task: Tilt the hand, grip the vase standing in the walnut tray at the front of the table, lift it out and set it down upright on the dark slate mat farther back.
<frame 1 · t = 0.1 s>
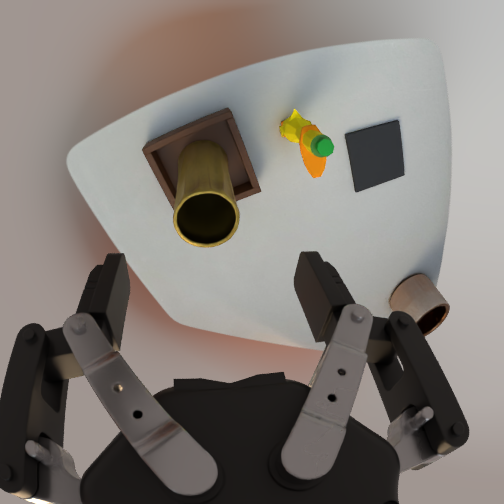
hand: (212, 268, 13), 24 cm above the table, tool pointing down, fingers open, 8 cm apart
mat: (376, 155, 37), on the table
tray: (202, 162, 34), on the table
planter: (408, 290, 57), on the table
vase: (202, 163, 34), resting on tray
toy figure: (287, 128, 34), on the table
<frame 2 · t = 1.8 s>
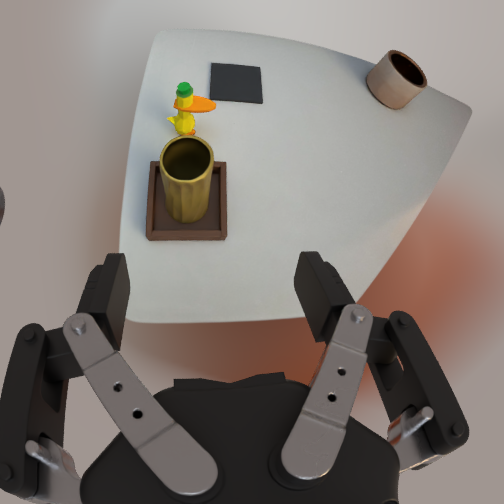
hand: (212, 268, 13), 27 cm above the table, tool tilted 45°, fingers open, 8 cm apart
mat: (236, 82, 45), on the table
tray: (186, 203, 40), on the table
planter: (384, 91, 53), on the table
vase: (186, 202, 40), resting on tray
toy figure: (188, 135, 42), on the table
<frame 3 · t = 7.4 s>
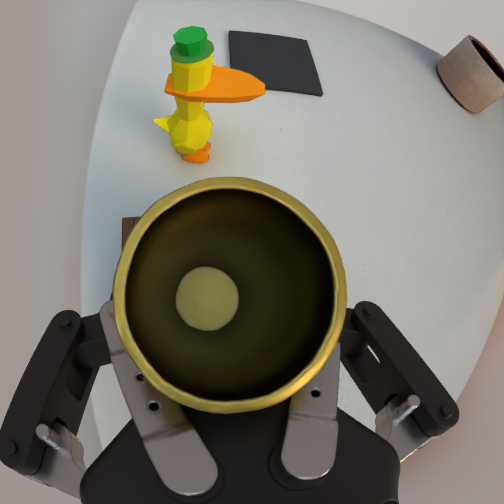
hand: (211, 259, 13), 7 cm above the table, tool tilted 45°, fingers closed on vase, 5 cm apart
mat: (273, 61, 25), on the table
planter: (457, 88, 33), on the table
vase: (206, 299, 20), resting on tray, touching gripper
toy figure: (198, 154, 22), on the table
when the fingers open (7 cm above the table, at t = 18.8 s): vase stays where it is, resting on mat.
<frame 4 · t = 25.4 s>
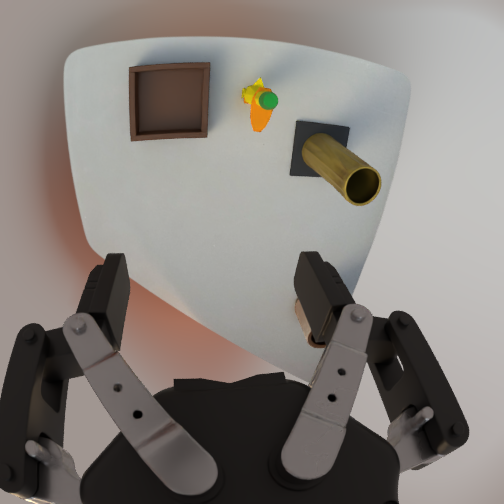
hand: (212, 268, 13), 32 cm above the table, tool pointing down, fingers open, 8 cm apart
mat: (319, 150, 44), on the table
tray: (170, 99, 35), on the table
planter: (316, 300, 64), on the table
vase: (319, 150, 43), resting on mat
toy figure: (249, 98, 37), on the table
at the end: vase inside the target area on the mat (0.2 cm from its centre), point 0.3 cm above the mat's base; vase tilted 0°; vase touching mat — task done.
